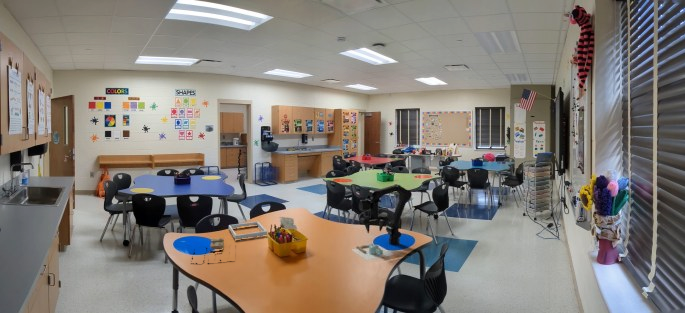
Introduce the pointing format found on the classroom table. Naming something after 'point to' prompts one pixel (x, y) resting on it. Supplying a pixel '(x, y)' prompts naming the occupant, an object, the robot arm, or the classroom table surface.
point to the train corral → (248, 233)
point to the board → (369, 256)
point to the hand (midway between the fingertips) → (374, 232)
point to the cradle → (363, 247)
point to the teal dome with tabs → (375, 250)
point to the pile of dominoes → (217, 243)
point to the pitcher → (287, 223)
